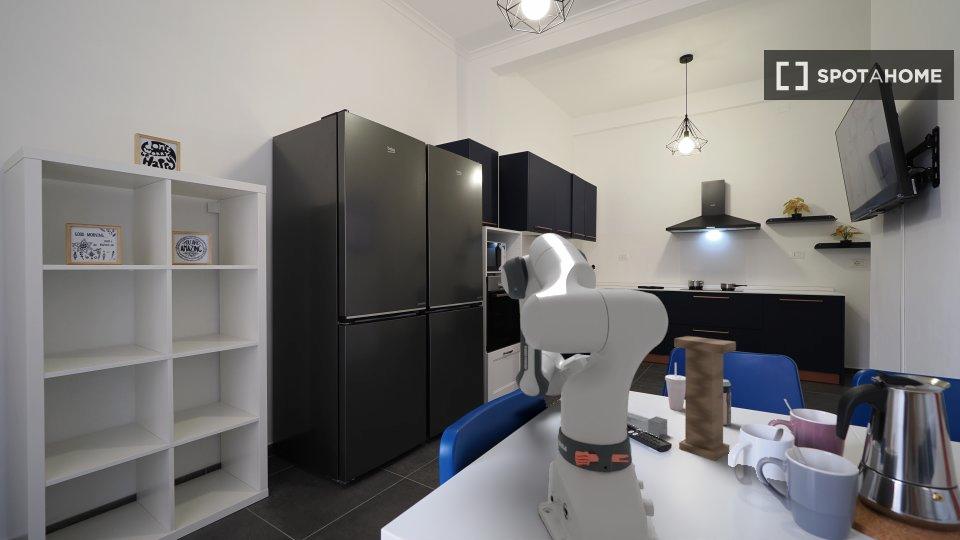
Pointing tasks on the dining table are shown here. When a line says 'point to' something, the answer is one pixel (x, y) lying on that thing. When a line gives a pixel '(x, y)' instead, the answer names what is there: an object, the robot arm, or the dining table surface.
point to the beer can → (726, 402)
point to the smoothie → (676, 390)
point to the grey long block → (649, 424)
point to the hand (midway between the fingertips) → (613, 353)
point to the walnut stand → (704, 395)
